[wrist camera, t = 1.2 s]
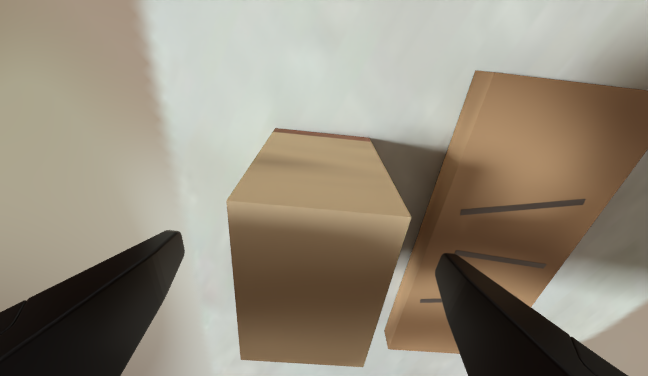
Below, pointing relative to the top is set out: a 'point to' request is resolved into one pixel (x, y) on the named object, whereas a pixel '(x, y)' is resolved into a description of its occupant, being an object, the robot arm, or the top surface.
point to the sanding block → (313, 248)
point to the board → (517, 190)
